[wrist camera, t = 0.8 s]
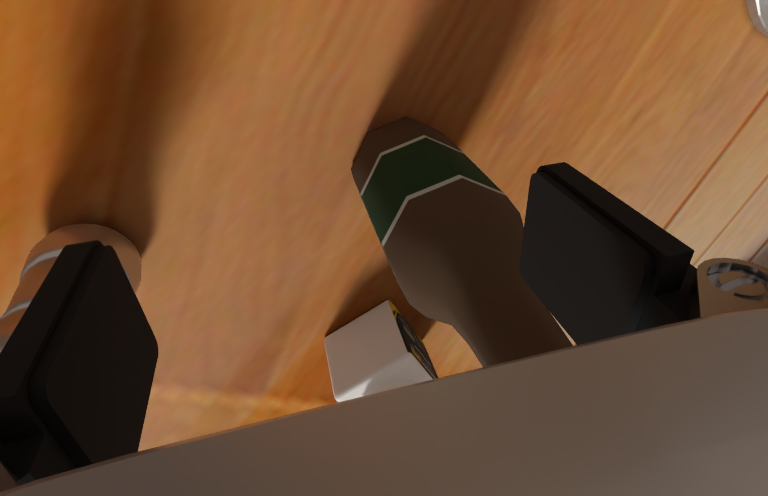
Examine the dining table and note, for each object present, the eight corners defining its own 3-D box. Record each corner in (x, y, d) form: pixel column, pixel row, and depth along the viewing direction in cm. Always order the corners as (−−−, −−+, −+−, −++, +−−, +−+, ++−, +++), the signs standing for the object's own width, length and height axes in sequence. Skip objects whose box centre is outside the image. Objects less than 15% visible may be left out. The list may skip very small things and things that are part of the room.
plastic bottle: (17, 231, 31) (-241, 550, 15) (116, 197, 31) (-29, 474, 15) (78, 300, 35) (-75, 616, 18) (166, 270, 35) (92, 554, 19)
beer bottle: (326, 167, 34) (429, 479, 14) (407, 90, 32) (650, 322, 12) (393, 229, 38) (545, 534, 18) (468, 163, 36) (721, 423, 17)
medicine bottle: (423, 341, 46) (469, 449, 36) (361, 377, 46) (391, 492, 37) (388, 296, 42) (430, 405, 32) (321, 337, 42) (343, 455, 33)
